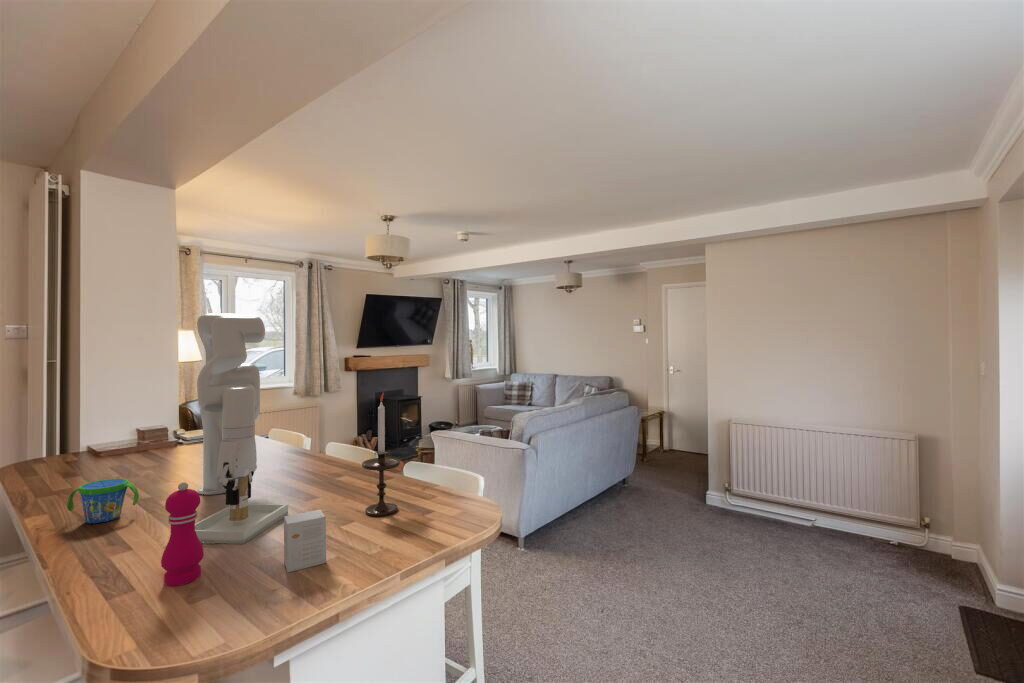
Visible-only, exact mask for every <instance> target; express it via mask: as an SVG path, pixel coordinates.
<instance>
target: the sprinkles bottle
mask: <svg viewBox="0 0 1024 683" xmlns="http://www.w3.org/2000/svg"><path fill="white" fill-rule="evenodd" d="M248 474H249V470H248V469H246V470H245V472H244V475H242V476H241V477H239V478H238V485H237V489H239V504H238V505H228V506H229V508H230V517H229V520H230V521H241V520H244V519H246V518H248V504H249V499H248ZM231 476H232V475H230V477H231ZM230 481H231V482H232V483H233V480H230Z"/></svg>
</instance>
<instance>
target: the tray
mask: <svg viewBox="0 0 1024 683" xmlns="http://www.w3.org/2000/svg"><path fill="white" fill-rule="evenodd" d="M284 516H289V504H288V503H248V518H246V519H244V520H241V521H230V520H229V517H230V508H229V505H227V506H226V507H225V508H222V509H221V510H218V511H216V512H214V513H213V514H211V515H209V516H206V517H205V518H204V519H201V520H200V521H198V522H195V531H196V534H197V536H198V538H199V540H200V542H204V543H203V544H210V543H226V544H225V545H245V544H246V543H247V542H249V541H251V540H252V539H254V538H255V537H257V536H258V535H260V534H262V533H263V532H264V531H266V530H268V529H269V528H271V527H272V526H273V525H275V524H276V523H278V522H279V521H281V520H282V519H284ZM227 543H228V544H227Z"/></svg>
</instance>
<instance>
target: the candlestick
mask: <svg viewBox="0 0 1024 683" xmlns="http://www.w3.org/2000/svg"><path fill="white" fill-rule="evenodd" d="M384 392H385V391H382V394H381V396H380V398H379V400H380V403H379V406H378V407H377V452H374V455H377V457H375V458H369V459H366V460H363V461H362V463H361V468H362V469H364V470H368V471H377V472H378V483H377V484H376V489H378V492H377V493H376V494H377V495H376V496H378V502H377V503H375V504H370V505H369V506H367V507H366V508H365V511H364V512H365V515H366V516H368V517H373V518H374V517H375V518H379V517H380V518H382V517H387V516H388V517H389V516H392V515H393V514H396V513H397V512H398V505H397V504H395V503H392V502H386V501H385V495H387V494H386V492H385V489H386V488H387V483H385V471H386V470H392V469H395V468H398V467H400V466H401V459H400V458H397V457H388V456H387V457H386V454H389V451H386V450H385V449H386V448H385V447H386V446H385V444H386V442H385V441H386V436H385V435H386V427H385V426H386V425H385V423H386V422H385V420H386V419H385V418H386V415H385V413H386V410H385V406H384V404H383V401H384V400H383V399H384V396H385V393H384Z"/></svg>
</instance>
